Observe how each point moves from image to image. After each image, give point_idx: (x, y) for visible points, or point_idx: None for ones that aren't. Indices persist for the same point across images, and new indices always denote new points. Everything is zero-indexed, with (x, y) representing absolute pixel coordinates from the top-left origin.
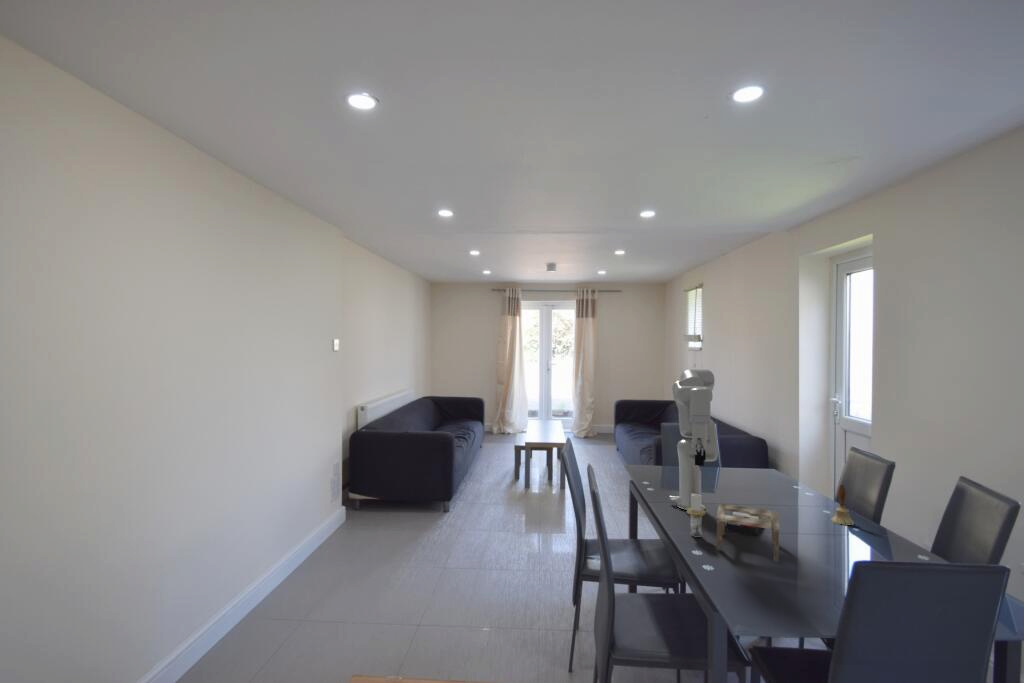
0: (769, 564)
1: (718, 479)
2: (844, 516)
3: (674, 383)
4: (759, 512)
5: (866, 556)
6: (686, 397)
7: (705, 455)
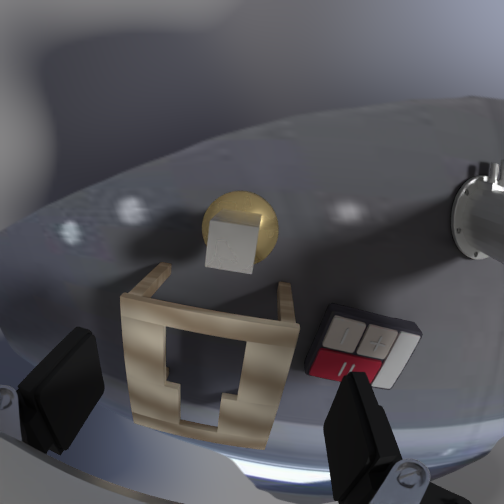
0: None
1: None
2: None
3: None
4: (237, 419)
5: (256, 474)
6: None
7: (333, 467)
